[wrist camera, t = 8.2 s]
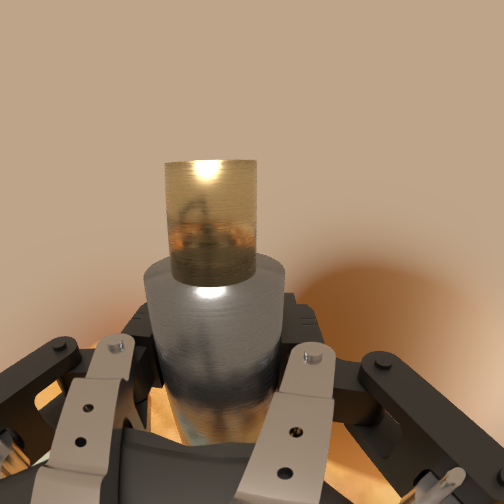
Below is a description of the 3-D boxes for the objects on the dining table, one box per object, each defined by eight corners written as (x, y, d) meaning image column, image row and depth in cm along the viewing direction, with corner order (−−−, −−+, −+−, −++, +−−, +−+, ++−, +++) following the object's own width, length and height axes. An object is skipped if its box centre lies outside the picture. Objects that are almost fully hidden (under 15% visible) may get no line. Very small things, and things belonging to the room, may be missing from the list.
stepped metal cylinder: (184, 488, 10) (102, 168, 5) (201, 433, 13) (169, 164, 9) (266, 500, 9) (289, 159, 5) (272, 441, 13) (287, 161, 9)
